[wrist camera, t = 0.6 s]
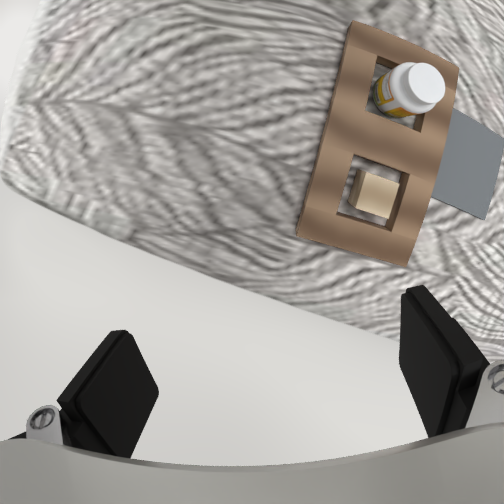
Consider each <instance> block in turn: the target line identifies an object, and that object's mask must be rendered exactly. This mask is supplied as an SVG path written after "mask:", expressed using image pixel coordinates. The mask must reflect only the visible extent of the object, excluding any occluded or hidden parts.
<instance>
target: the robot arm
mask: <svg viewBox="0 0 504 504" xmlns="http://www.w3.org/2000/svg"><path fill="white" fill-rule="evenodd" d="M399 364H400V368H401V370H402V372H403V375H404V377H405V380H406V382H407V385H408V387H409V389H410V392H411V394H412V397H413V399H414V401H415V404H416V406H417V409H418V411H419V414H420V416H421V419H422V422H423V424H424V427H425V429H426V432H427V434H428V438H427V439H424V440H420V441H416V442H413V443H409V444H405V445H401V446H397V447H393V448H389V449H384V450H379V451H374V452H369V453H364V454H359V455H354V456H348V457H342V458H336V459H329V460H322V461H315V462H305V463H295V464H283V465H267V466H199V465H181V464H171V463H161V462H152V461H144V460H137V459H130V458H131V455H132V453H133V451H134V449H135V447H136V444H137V442H138V440H139V438H140V435H141V433H142V431H143V429H144V427H145V424H146V422H147V420H148V418H149V415H150V413H151V411H152V409H153V407H154V404H155V402H156V400H157V398H158V395H159V391H158V387H157V385H156V383H155V381H154V379H153V377H152V375H151V373H150V371H149V369H148V367H147V365H146V363H145V361H144V359H143V357H142V355H141V352H140V350H139V348H138V346H137V344H136V342H135V339H134V337H133V335H131V334H130V333H129V332H128V331H126V330H116V331H111V332H110V333H109V334H108V335H107V337H106V338H105V339H104V340H103V341H102V343H101V344H100V345H99V346H98V348H97V349H96V350H95V351H94V353H93V354H92V355H91V356H90V358H89V359H88V360H87V361H86V363H85V364H84V365H83V366H82V368H81V369H80V370H79V372H78V373H77V374H76V375H75V377H74V378H73V379H72V381H71V382H70V383H69V384H68V386H67V387H66V389H65V390H64V391H63V393H62V394H61V395H60V396H59V398H58V399H57V402H58V403H59V404H60V406H61V408H62V409H61V410H60V411H59V410H58V408H56V407H55V406H53V405H46V406H42V407H40V408H38V409H37V410H35V411H34V412H33V413H32V414H31V415H30V417H29V419H28V420H27V425H26V432H24V433H22V434H19V435H17V436H15V437H12V438H10V439H8V440H4V441H1V442H0V504H504V360H501V361H496V362H494V363H492V364H490V363H489V362H488V361H487V359H486V358H485V357H484V355H483V354H482V353H481V351H480V350H479V349H478V347H477V346H476V345H475V343H474V342H473V341H472V340H471V338H470V337H469V336H468V334H467V333H466V332H465V331H464V329H463V328H462V327H461V326H460V324H459V323H458V322H457V321H456V320H455V319H454V318H451V317H450V315H449V314H448V313H447V312H446V311H445V309H444V308H443V307H442V306H441V305H440V303H439V302H438V301H437V300H436V299H435V297H434V296H433V295H432V294H431V293H430V292H429V291H428V289H427V288H426V287H425V286H424V285H420V286H415V287H411V288H407V289H406V293H404V294H402V295H401V328H400V350H399Z"/></svg>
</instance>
